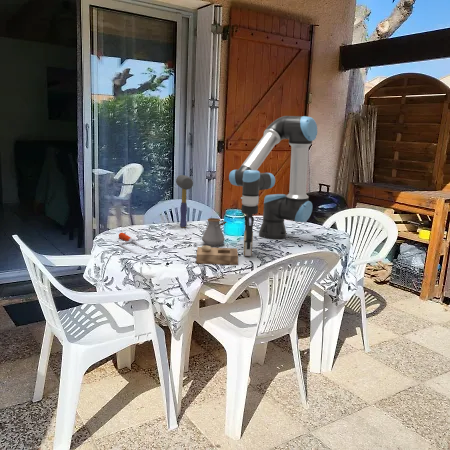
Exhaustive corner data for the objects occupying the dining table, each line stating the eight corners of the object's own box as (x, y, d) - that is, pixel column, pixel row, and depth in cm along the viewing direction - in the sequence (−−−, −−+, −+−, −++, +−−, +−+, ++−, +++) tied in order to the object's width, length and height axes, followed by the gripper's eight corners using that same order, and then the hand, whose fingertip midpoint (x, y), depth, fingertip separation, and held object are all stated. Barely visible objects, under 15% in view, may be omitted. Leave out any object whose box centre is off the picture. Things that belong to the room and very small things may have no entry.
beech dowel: (251, 253, 216) (252, 230, 214) (252, 256, 212) (253, 232, 210) (242, 253, 216) (244, 230, 214) (243, 255, 212) (244, 232, 210)
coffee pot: (198, 242, 235) (199, 213, 231) (219, 240, 239) (220, 212, 236) (213, 253, 215) (214, 222, 212) (235, 252, 220) (237, 221, 216)
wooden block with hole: (236, 256, 212) (237, 244, 211) (237, 264, 200) (238, 251, 199) (197, 255, 211) (197, 242, 210) (196, 263, 200) (196, 249, 198)
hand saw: (158, 249, 213) (139, 252, 207) (157, 255, 214) (138, 259, 208) (123, 231, 237) (105, 234, 230) (123, 237, 238) (105, 240, 231)
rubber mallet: (192, 229, 260) (194, 176, 254) (179, 230, 258) (181, 176, 251) (186, 224, 272) (187, 174, 265) (174, 225, 269) (175, 174, 262)
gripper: (240, 200, 217) (238, 248, 222) (242, 207, 200) (240, 259, 206) (256, 201, 217) (254, 249, 223) (260, 208, 201) (257, 259, 206)
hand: (247, 253), depth 214 cm, fingers closed on beech dowel, 4 cm apart
